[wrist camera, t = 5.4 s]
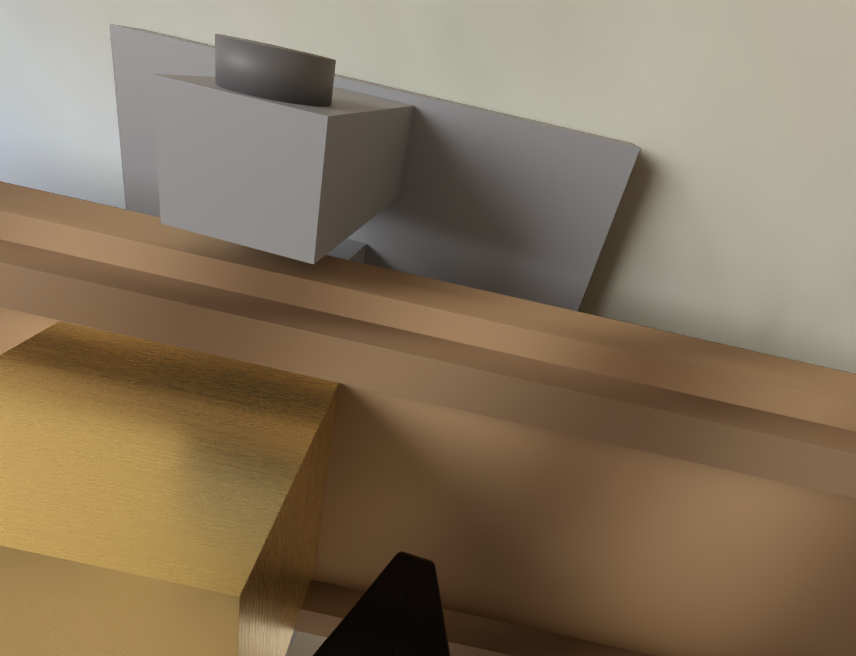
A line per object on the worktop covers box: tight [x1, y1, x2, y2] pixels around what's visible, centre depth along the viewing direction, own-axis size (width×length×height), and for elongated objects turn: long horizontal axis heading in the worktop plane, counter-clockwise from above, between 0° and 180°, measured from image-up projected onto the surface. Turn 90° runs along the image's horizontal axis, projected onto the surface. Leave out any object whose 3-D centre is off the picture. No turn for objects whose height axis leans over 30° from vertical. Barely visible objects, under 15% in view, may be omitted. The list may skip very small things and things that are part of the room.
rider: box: [0, 321, 339, 656], centre depth 8 cm, size 5×5×4 cm
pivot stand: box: [110, 24, 640, 656], centre depth 12 cm, size 12×15×6 cm
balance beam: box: [0, 181, 856, 656], centre depth 10 cm, size 28×9×2 cm, turn 78°
